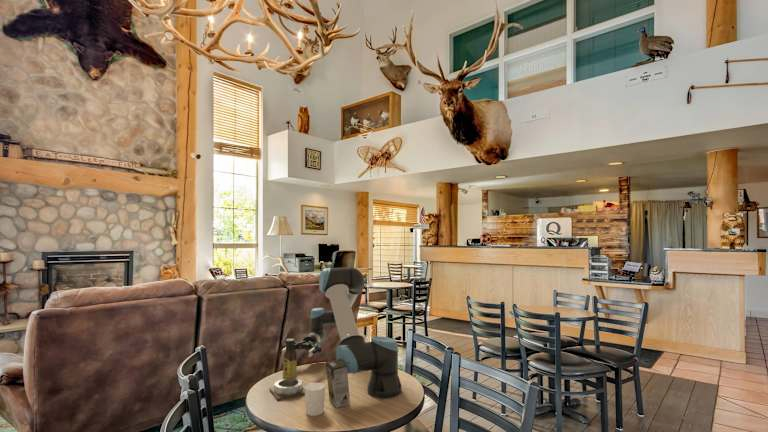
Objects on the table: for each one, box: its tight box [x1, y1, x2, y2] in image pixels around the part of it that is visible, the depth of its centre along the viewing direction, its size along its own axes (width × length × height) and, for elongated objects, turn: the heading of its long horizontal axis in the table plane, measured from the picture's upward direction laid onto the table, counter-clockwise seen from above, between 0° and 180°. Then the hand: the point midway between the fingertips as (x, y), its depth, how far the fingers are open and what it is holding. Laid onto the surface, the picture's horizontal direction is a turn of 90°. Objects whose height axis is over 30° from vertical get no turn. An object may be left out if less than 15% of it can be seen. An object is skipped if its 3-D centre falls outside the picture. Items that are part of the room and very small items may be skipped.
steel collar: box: [273, 377, 303, 395], centre depth 179 cm, size 12×12×3 cm
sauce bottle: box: [282, 338, 298, 379], centre depth 191 cm, size 6×6×20 cm
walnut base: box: [269, 386, 305, 402], centre depth 179 cm, size 13×13×1 cm
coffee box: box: [325, 359, 351, 409], centre depth 169 cm, size 9×6×16 cm
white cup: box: [304, 382, 326, 417], centre depth 160 cm, size 8×8×10 cm
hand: (296, 353), depth 199 cm, fingers open, 13 cm apart
